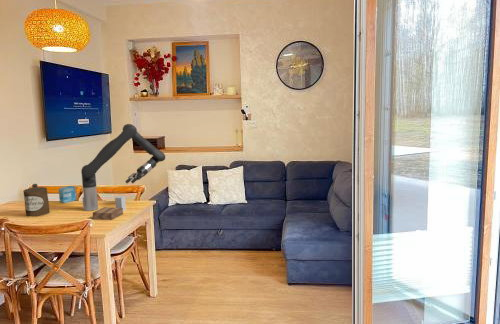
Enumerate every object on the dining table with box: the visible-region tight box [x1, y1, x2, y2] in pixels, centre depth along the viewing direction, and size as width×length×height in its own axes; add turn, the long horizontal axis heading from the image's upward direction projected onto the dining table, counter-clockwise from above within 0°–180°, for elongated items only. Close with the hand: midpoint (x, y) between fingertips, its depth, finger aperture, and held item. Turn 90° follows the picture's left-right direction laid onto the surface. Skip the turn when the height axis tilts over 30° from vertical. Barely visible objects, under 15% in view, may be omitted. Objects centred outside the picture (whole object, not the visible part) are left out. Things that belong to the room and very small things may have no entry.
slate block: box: [114, 195, 127, 212], centre depth 270 cm, size 5×5×10 cm
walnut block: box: [92, 206, 124, 221], centre depth 254 cm, size 14×14×5 cm
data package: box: [58, 185, 77, 204], centre depth 301 cm, size 12×4×12 cm, turn 155°
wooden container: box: [23, 183, 50, 217], centre depth 264 cm, size 15×15×22 cm
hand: (128, 182), depth 275 cm, fingers open, 8 cm apart
